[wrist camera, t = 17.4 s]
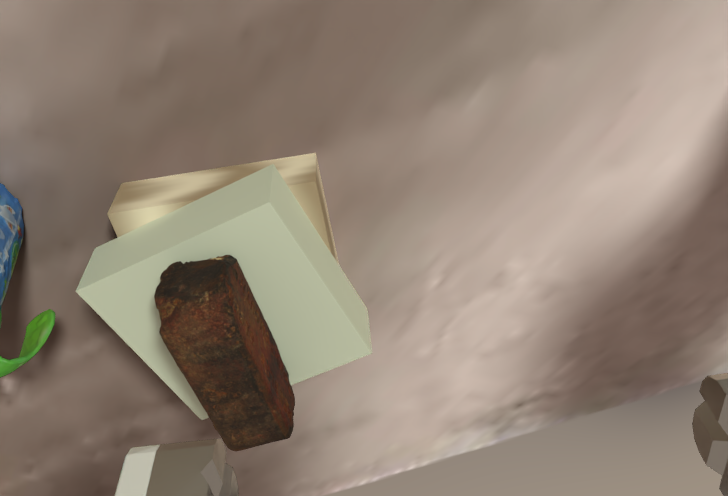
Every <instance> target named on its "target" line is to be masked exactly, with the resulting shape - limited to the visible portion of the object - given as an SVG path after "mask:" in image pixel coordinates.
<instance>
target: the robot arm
mask: <svg viewBox="0 0 728 496" xmlns="http://www.w3.org/2000/svg"><path fill="white" fill-rule="evenodd" d="M700 393H701V395H702V396H703V398H704V400H705V401H704V402H703V403H702V404H701V405H700V406H699V407H698V408H696V409H695V412H694V417H693V423H692V425H693V432H694V439H695V442H696V445H697V448H698V450H699V453H700V455H701V456H702V458H703V460H704V462H705V464H706V465H707V466H708V467H710V468H711V469H713V470H714V471H716V472H718V473H719V474H721V475H722V479H721V483H720V488H719V489H720V490H721V492H722V494H723V495H724V496H728V373H724V374H717V375H710V376H707V377H706V378H705V379H704V380H703V381H702V384H701V388H700ZM226 452H227V451H226V448H225V446H224V444H223V441H222V439H209V440H199V441H189V442H179V443H169V444H161V445H152V446H143V447H134V448H131V449H130V451H129V452H128V454H127V455H126V457H125V460H124V463H123V467H122V470H121V474H120V478H119V481H118V485H117V488H116V492H115V495H114V496H239V490H238V484H237V479H236V475H235V472H234V469H233V467H231V466H229V465H228V464H226V463H225V461H226Z"/></svg>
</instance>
